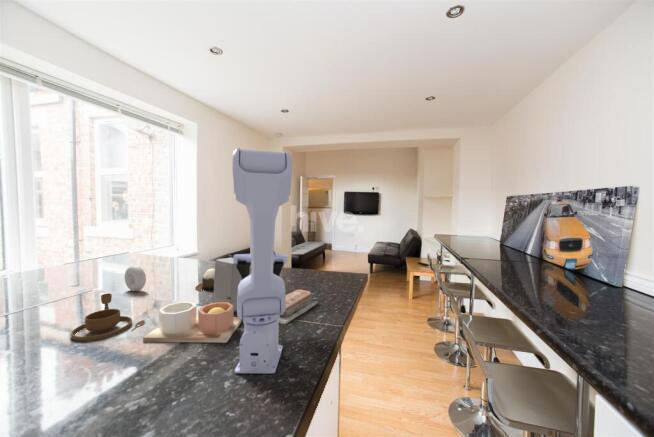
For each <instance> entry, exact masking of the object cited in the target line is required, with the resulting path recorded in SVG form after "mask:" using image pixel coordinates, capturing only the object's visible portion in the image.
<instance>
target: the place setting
mask: <svg viewBox="0 0 654 437" xmlns="http://www.w3.org/2000/svg"><path fill="white" fill-rule="evenodd" d="M112 298H113V297H112V293H110V292H109V293H104V294H101V295H100V301H101V302H100V303H101V304H102V305H104V309H101V310H98V311H94V312H92V313H90V314H88V315H86V316H85V317H84V323H82V324H81V325H78V326H77V327H75V328H74V329H73V330H72V331H71V332H70V337H71V338H72V340H74V341H76V340H77V341H76V342H91V341H97V340H98V341H99V340H102V339H106V338H110V337H113V336H115V335H119V334H120V333H123V332H124V331H126V330H128V329H129V328H130V326H131V325H132V323H133V318H132V317H129V316H127V315H121V310H120V309H118V308H117V309H116V308H110V307H109V304H110V303H111V302H112ZM120 322H125V323H127V324H126V325H123V327H120V328H118V329H116V330H113V329H114V327H116V326H117V325H118V324H119V323H120ZM144 324H145V320H144V319H143V320H140V321H138V322H136V323H135V324H134V325H135V326H134V327H133V329H132V330H130V332H133V331H135V330H136V329H137V328H140V327H142V326H143V325H144ZM83 328H86V329H85V330H87V331H88V332H90V333H91V332H92V333H93V334H96V335H91V336H77V335H76V336H75V334H76V333H77V332H79V331H80V330H82V329H83ZM82 331H83V330H82ZM80 332H81V331H80ZM80 332H79V333H80ZM97 333H98V334H97Z"/></svg>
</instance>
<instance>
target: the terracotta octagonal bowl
mask: <svg viewBox="0 0 654 437" xmlns="http://www.w3.org/2000/svg"><path fill="white" fill-rule="evenodd" d="M215 307H220V308H222V309H224V310H225V311H222V312H218V313H208V312H209V311H210V310H211V309H213V308H215ZM197 316H198V330H199V331H200V332H201V333H202V334H218V333H221V332H224V331H227V330H229V329H230V328H231V327H232V325H233V317H234V312H233V305H232V304H230V303H228V302H217V303H213V302H212V303H209V304H205V305H203V306H201V308H200V309H198V311H197Z"/></svg>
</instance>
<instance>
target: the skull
mask: <svg viewBox="0 0 654 437" xmlns="http://www.w3.org/2000/svg"><path fill="white" fill-rule="evenodd" d="M214 277H215V268H209V269H207V270H206V271H205V272H204V275H203V276H202V279H201V280H202V283H201V282H200V283H199V284H197V285H196V286H195V290H197V291H198V292H206V291H214ZM201 289H202V291H201ZM203 290H204V291H203ZM205 290H206V291H205Z"/></svg>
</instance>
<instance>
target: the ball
mask: <svg viewBox="0 0 654 437" xmlns="http://www.w3.org/2000/svg"><path fill="white" fill-rule="evenodd" d="M222 311H225V310H224V309H222V308H220V307H215V308H213V309H211V310H210V311H209V312H208V313H218V312H222Z"/></svg>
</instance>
